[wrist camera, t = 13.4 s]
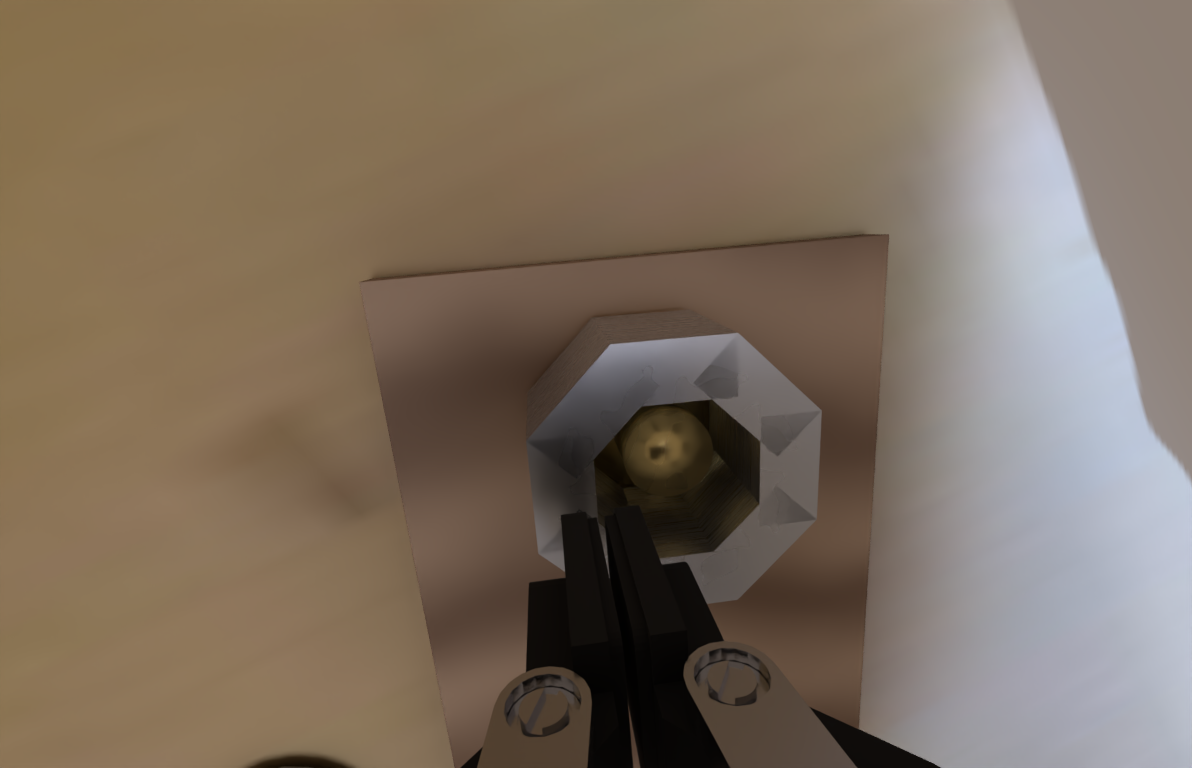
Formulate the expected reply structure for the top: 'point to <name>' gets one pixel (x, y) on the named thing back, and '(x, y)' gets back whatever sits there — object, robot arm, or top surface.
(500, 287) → the walnut board
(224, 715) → the top surface
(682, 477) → the brass hub
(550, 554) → the steel ring
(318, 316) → the top surface
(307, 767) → the pocket watch
